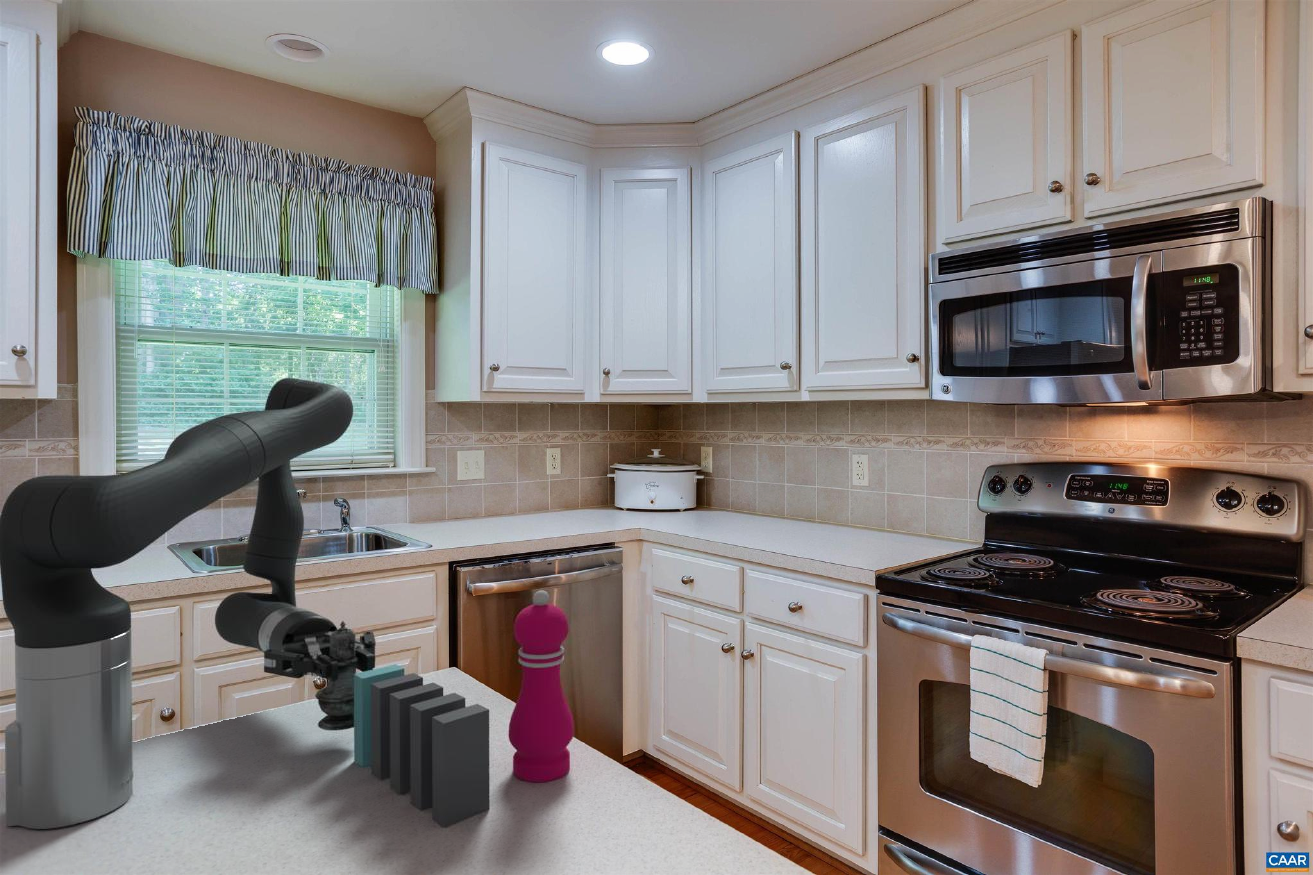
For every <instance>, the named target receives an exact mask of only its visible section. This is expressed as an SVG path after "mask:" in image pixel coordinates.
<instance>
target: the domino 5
mask: <svg viewBox="0 0 1313 875" xmlns="http://www.w3.org/2000/svg"><path fill="white" fill-rule="evenodd" d="M432 790H433V807H432V820H433V822H435V823H437V824H438V825H439V826H440V827H442V828H443V829H445V828H447V827H450V826H452V825H455V824H458V823H461V822H462V821H464V820H467V819H469V818H471V817H474V816H476V815H479V814H481V813H484V812H486V811H489V810H490V809H491V808H490V803H491V802H490V709H489V708H487V707H485V706H483V705H481V704H480V703H475V704H471V705H468V706H465V708H461V709H458V710H455V711H451V712H448V713H445V714H441V715H438V716H435V717H432Z"/></svg>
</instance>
